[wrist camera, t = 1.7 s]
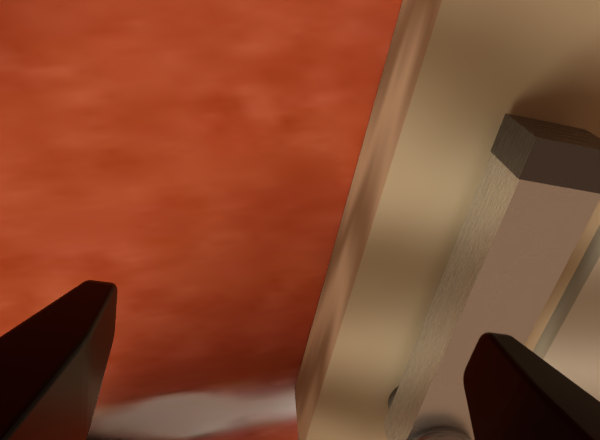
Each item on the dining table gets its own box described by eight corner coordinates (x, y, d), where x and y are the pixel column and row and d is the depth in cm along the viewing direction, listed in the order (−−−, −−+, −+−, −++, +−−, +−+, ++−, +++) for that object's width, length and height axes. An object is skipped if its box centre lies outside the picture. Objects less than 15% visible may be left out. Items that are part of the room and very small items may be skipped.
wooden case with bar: (620, 422, 29) (707, 542, 24) (294, 387, 27) (304, 513, 21) (874, 49, 20) (1113, 98, 15) (420, -64, 18) (497, -57, 12)
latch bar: (442, 437, 22) (462, 495, 20) (377, 430, 22) (390, 490, 20) (588, 129, 16) (642, 163, 14) (502, 112, 16) (543, 144, 14)
